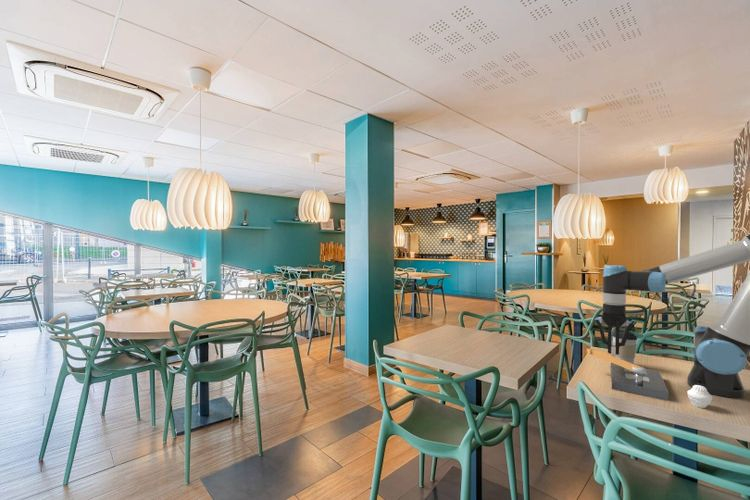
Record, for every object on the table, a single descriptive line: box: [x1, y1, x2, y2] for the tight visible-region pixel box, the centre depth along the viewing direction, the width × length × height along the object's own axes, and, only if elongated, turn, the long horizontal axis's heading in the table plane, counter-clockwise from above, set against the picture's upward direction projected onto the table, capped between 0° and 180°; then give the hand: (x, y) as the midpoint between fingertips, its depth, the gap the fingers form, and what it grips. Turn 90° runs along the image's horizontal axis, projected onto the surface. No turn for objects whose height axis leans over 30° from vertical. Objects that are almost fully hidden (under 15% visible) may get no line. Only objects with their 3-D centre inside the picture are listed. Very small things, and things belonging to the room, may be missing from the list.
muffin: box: [686, 385, 713, 409], centre depth 113 cm, size 6×6×7 cm
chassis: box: [610, 362, 670, 401], centre depth 131 cm, size 16×24×7 cm, turn 146°
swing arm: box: [586, 348, 647, 374], centre depth 133 cm, size 4×24×2 cm, turn 9°
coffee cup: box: [612, 330, 638, 365], centre depth 152 cm, size 9×9×15 cm
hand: (613, 361), depth 137 cm, fingers closed
